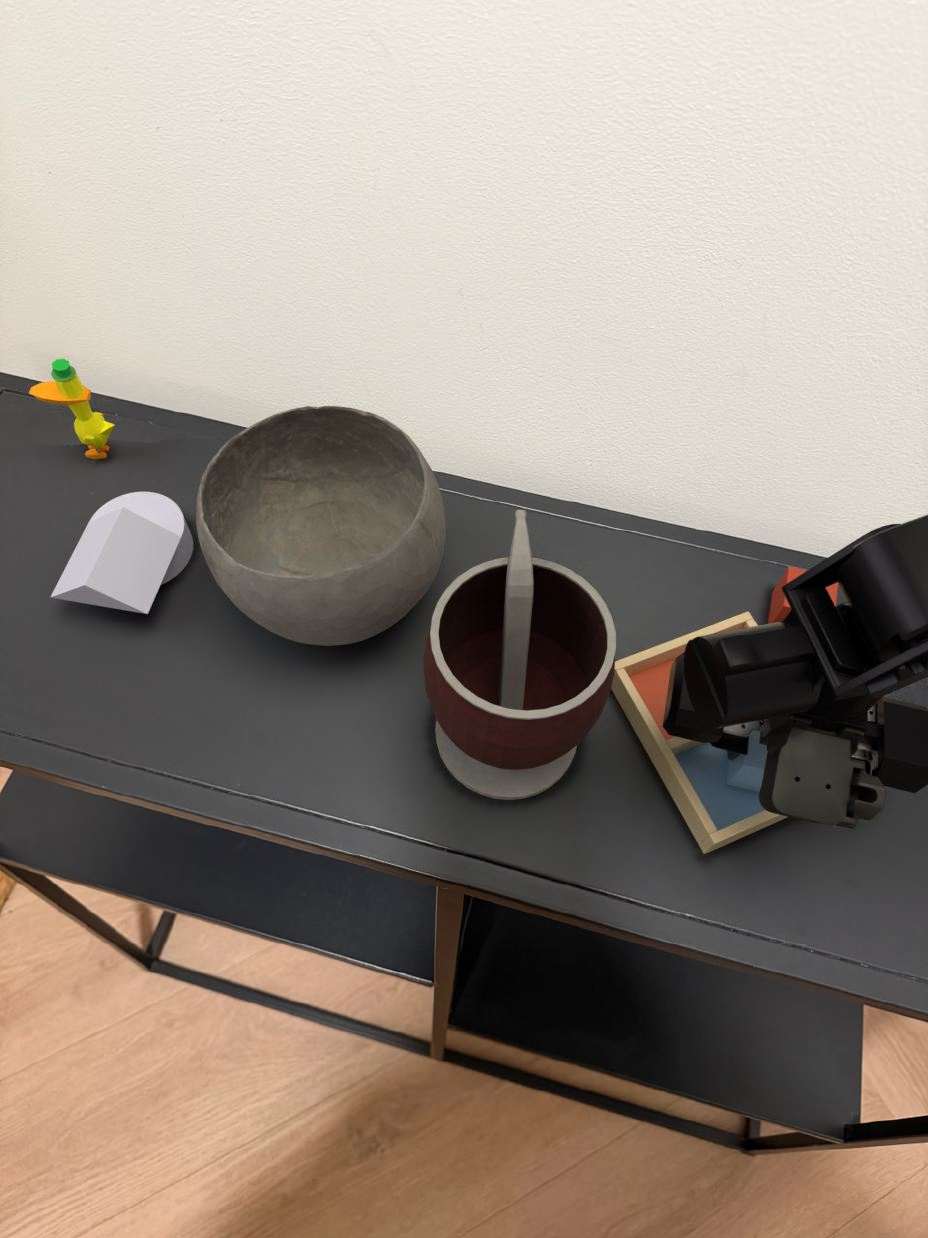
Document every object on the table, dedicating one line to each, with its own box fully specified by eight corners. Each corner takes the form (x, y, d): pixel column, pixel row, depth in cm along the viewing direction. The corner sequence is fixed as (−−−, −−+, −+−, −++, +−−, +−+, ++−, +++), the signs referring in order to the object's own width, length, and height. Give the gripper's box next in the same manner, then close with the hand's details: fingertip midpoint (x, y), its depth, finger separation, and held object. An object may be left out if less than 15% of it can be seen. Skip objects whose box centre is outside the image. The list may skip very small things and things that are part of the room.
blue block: (784, 748, 70) (804, 726, 66) (781, 798, 68) (802, 779, 64) (730, 735, 70) (747, 713, 67) (726, 785, 68) (743, 765, 64)
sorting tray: (737, 628, 78) (748, 611, 75) (847, 790, 70) (863, 778, 68) (605, 678, 75) (611, 662, 72) (703, 854, 67) (714, 844, 64)
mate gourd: (593, 809, 69) (644, 707, 52) (425, 810, 68) (419, 707, 51) (578, 644, 77) (618, 508, 60) (427, 644, 76) (423, 507, 59)
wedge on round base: (158, 633, 76) (206, 521, 83) (135, 593, 71) (188, 476, 77) (65, 616, 77) (119, 506, 83) (34, 576, 71) (95, 461, 78)
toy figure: (59, 463, 86) (7, 374, 76) (69, 437, 88) (20, 347, 78) (124, 466, 86) (81, 378, 76) (133, 440, 88) (92, 351, 78)
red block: (819, 604, 80) (838, 578, 76) (815, 644, 77) (835, 619, 73) (772, 592, 80) (788, 565, 76) (766, 631, 78) (783, 605, 74)
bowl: (469, 524, 83) (474, 416, 70) (411, 705, 73) (404, 618, 60) (275, 481, 86) (245, 369, 73) (192, 651, 75) (140, 555, 63)
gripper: (681, 753, 52) (632, 827, 65) (993, 828, 50) (876, 889, 63) (699, 605, 57) (651, 701, 71) (981, 667, 55) (876, 754, 69)
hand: (759, 761), depth 68 cm, fingers closed on blue block, 4 cm apart
